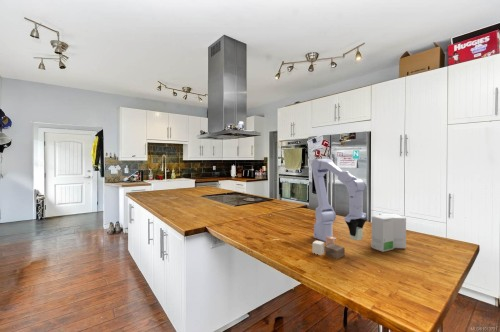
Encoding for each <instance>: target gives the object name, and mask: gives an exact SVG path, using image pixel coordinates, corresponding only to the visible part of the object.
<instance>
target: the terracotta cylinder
mask: <svg viewBox="0 0 500 332" xmlns="http://www.w3.org/2000/svg"><path fill="white" fill-rule="evenodd" d="M334 238H335V237H334V236H333V235H332V236H326V242H325V247H326V246H328V245H330V244H335V240H334Z"/></svg>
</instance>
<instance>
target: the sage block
mask: <svg viewBox="0 0 500 332" xmlns="http://www.w3.org/2000/svg"><path fill="white" fill-rule="evenodd" d="M363 229H364V227H363V228H360V227H357V228H356V235H355V236H352V235H350V234H349V239H352V240H354V241H360V240H363V235H364V233H363Z"/></svg>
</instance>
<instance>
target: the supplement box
mask: <svg viewBox="0 0 500 332" xmlns="http://www.w3.org/2000/svg"><path fill="white" fill-rule="evenodd" d="M378 215H384V216H389V217H394V249H407V218H406V217H404V216H402V215H400V214H398V213H379V214H378Z"/></svg>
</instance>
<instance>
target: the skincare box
mask: <svg viewBox="0 0 500 332" xmlns="http://www.w3.org/2000/svg"><path fill="white" fill-rule="evenodd" d="M370 238H371V246H370V247H371V248H372V249H374V250H377V251H378V252H379V251H380V252H382V253H383V252H387V251H391V250H394V249H395V248H394V217H389V216H384V215H379V214H378V215H372V216H371V237H370Z"/></svg>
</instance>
